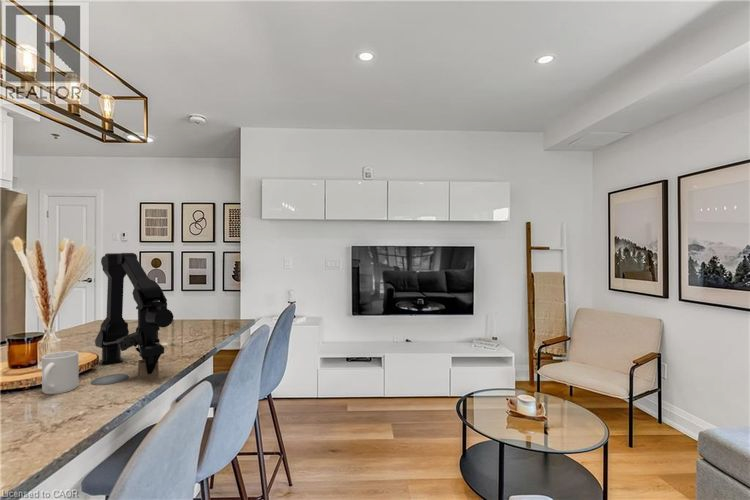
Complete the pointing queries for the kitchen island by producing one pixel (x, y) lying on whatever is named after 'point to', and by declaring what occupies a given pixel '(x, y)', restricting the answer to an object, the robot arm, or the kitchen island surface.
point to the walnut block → (143, 370)
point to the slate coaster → (109, 379)
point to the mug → (60, 372)
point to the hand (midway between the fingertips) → (148, 371)
